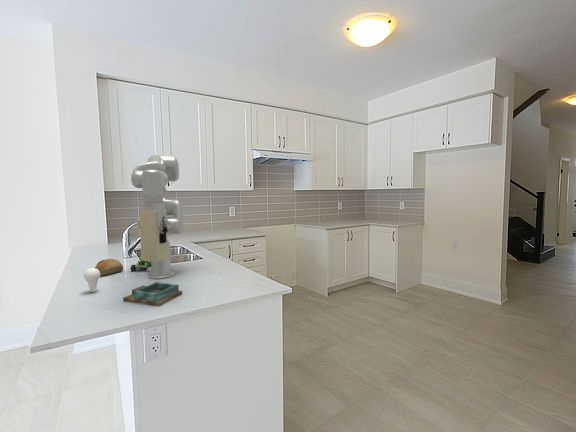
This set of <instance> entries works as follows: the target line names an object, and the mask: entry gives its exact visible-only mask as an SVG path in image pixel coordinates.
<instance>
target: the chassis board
mask: <svg viewBox="0 0 576 432" xmlns="http://www.w3.org/2000/svg"><path fill="white" fill-rule="evenodd" d="M179 289H180V288H179V284H176V283H168V282H161V281H160V282H159V281H156V282H153V283H150V284H149V285H140V286H139V287H136V288H134V289H131V294H129V295H126V296H124V297H122V299H123V300H122V301H123V302H125V303H126V302H127V303H133V304H139V305H146V306H147V305H148V306H154V307H161V306H163V305H164V304H166V303H168V302H170V301H171V300H174V299H176V298H178V297H180V296H182V295H183V293H182V292H183V291H182V290H179Z"/></svg>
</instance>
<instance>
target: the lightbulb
mask: <svg viewBox="0 0 576 432" xmlns="http://www.w3.org/2000/svg"><path fill="white" fill-rule="evenodd" d="M100 277H101V276H100V271H99V270H98V269H96V268H95V267H90V268H88V269H86V270H85V271H84V273H83V278H84V279H85V281H86V282H87V285H88V287H89V292H91V293H95V292H96V291H97V288H98V287H97V286H98V281H99V279H100Z"/></svg>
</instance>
